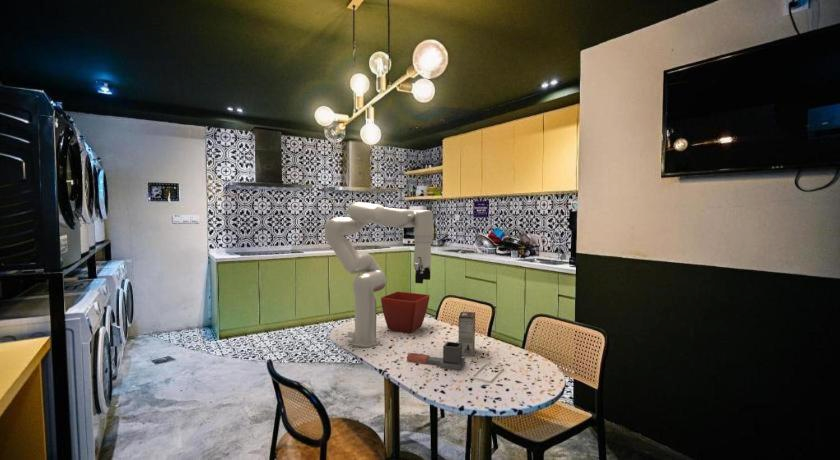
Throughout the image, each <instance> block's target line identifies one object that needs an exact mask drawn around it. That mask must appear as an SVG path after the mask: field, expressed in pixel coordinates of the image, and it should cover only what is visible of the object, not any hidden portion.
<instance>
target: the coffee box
mask: <svg viewBox="0 0 840 460" xmlns="http://www.w3.org/2000/svg"><path fill="white" fill-rule="evenodd" d="M475 339H476V312H475V311H461V312H460V313H459V316H458V343H462V356H474V353H475V349H476V348H475V347H476V346H475V345H476V344H475V343H476V341H475Z"/></svg>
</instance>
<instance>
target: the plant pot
mask: <svg viewBox="0 0 840 460" xmlns="http://www.w3.org/2000/svg"><path fill="white" fill-rule="evenodd" d="M430 296H431V295H430V294H423V293H414V292H407V291H395V292H392V293H390V294H386V295H384V296H380V301H381V302H380V303H381V308H382V312H383V317H384V320H385V323H386V326H387V329H388V331H392V332H398V333H399V332H400V333H406V334H413V333H414V332H416V331H417V330H420V329H421V328H422V327H423V326H422V325H423V323H424V322H425V321H424V320H425V318H426V315H427V310H428V306H429V303H430V302H429V301H430Z"/></svg>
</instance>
